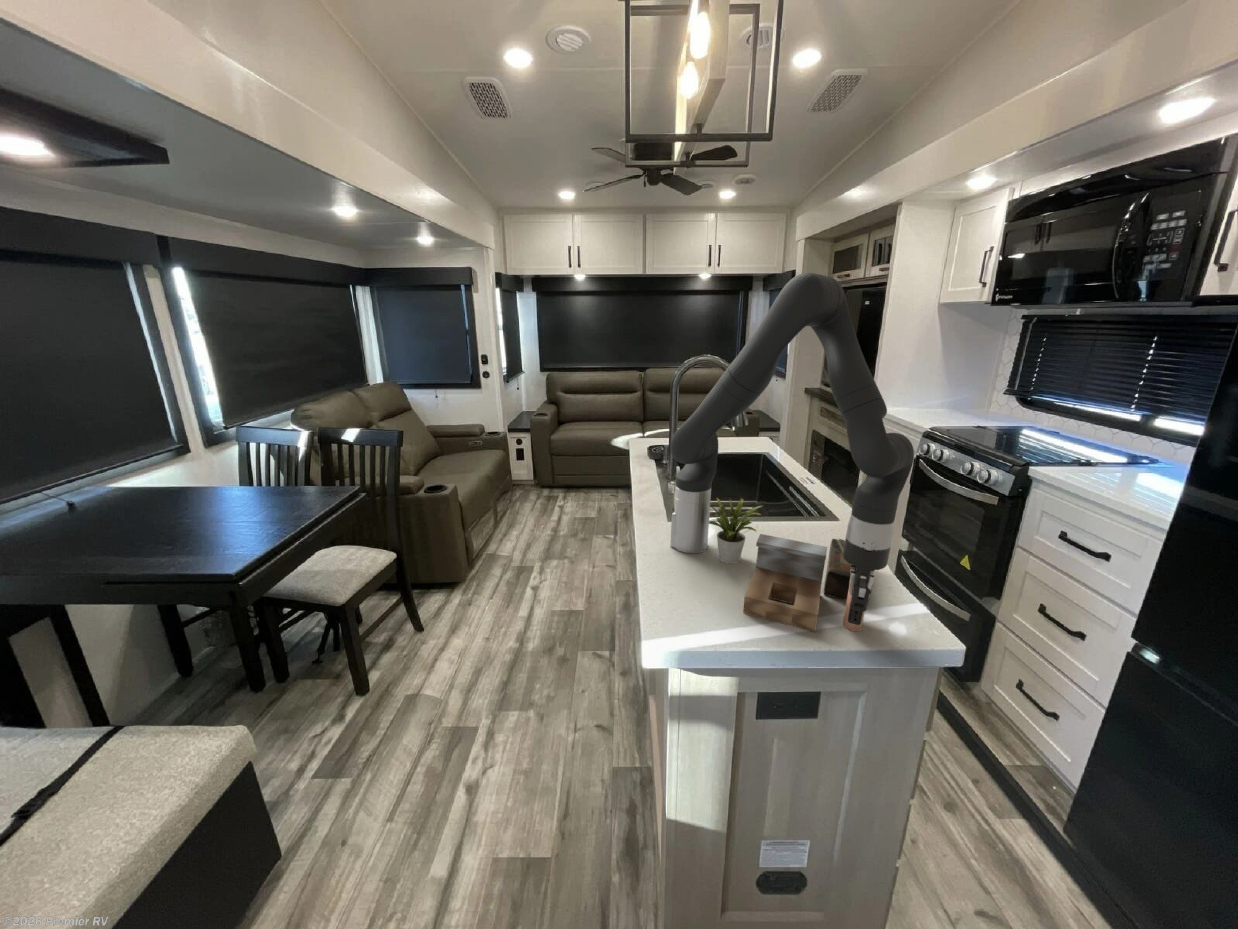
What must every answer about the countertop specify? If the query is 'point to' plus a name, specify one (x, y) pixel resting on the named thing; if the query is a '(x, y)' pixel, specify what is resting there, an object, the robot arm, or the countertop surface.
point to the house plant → (732, 531)
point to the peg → (847, 608)
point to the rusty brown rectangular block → (837, 571)
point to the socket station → (786, 582)
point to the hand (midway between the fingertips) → (853, 616)
